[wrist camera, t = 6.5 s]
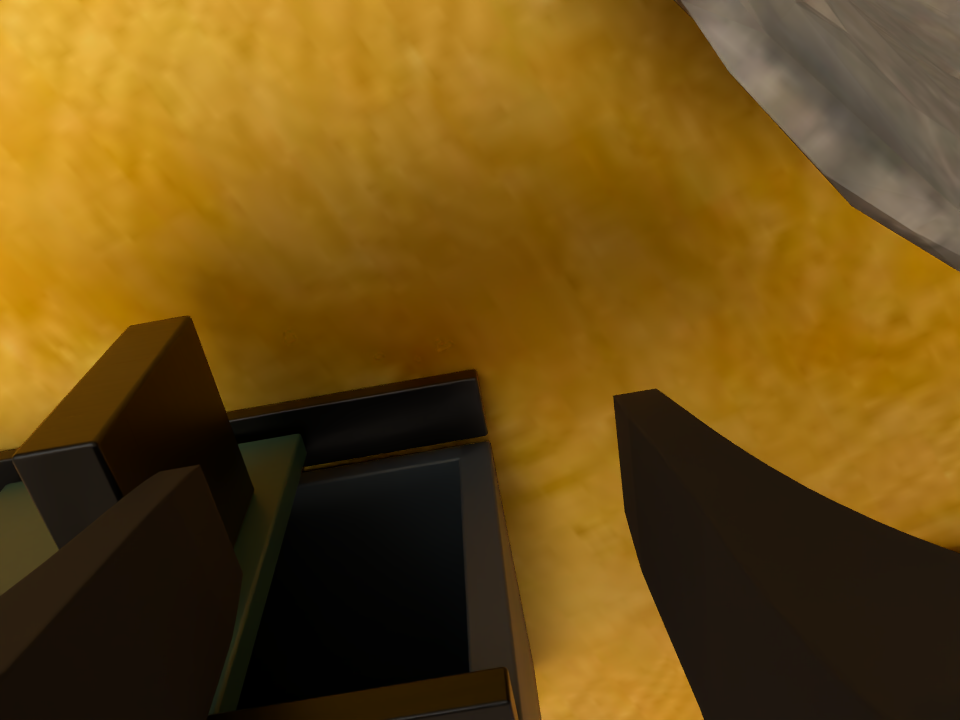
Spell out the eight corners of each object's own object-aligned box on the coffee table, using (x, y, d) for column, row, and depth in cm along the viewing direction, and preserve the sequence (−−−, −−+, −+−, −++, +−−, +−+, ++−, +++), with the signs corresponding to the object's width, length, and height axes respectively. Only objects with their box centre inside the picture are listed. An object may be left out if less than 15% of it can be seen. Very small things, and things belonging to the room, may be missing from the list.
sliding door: (248, 269, 16) (104, 488, 9) (307, 453, 18) (228, 749, 11) (-78, 327, 16) (-468, 587, 9) (17, 503, 18) (-243, 824, 11)
